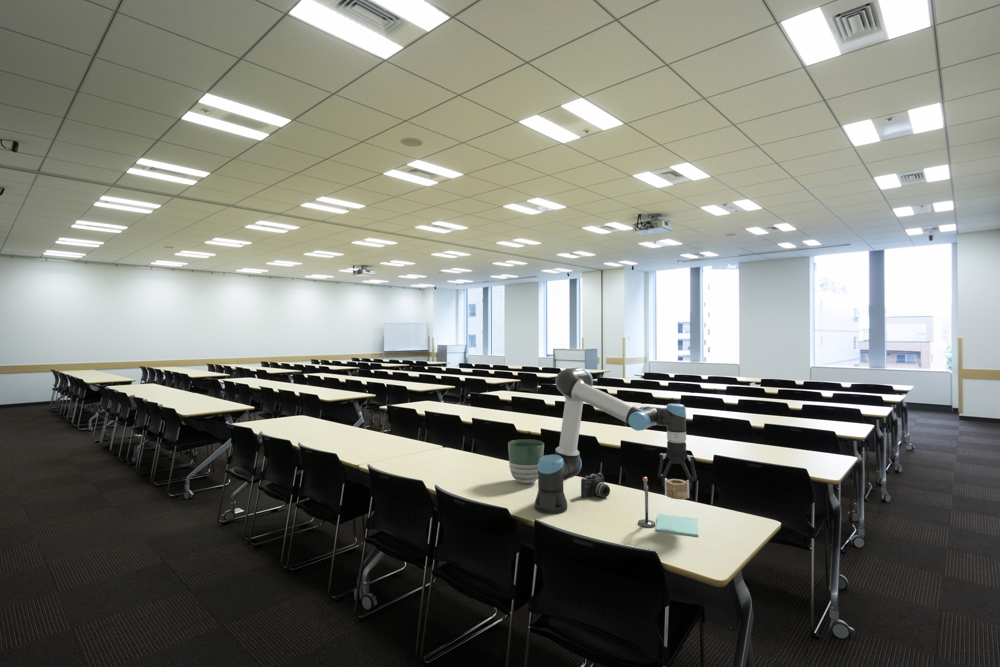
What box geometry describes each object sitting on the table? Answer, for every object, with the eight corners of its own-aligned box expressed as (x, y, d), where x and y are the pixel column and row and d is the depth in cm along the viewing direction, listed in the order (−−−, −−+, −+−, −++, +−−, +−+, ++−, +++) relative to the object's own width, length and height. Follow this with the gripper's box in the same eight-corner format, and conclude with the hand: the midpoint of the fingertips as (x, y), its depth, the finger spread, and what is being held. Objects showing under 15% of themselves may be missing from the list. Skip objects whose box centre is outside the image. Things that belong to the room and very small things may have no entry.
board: (655, 531, 199) (655, 529, 199) (658, 515, 216) (658, 513, 216) (698, 536, 194) (698, 534, 194) (697, 520, 210) (697, 518, 210)
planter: (506, 478, 275) (506, 439, 275) (540, 476, 277) (540, 438, 277) (510, 488, 256) (510, 447, 256) (547, 487, 258) (547, 446, 258)
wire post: (636, 529, 201) (636, 476, 201) (638, 520, 211) (638, 470, 211) (654, 531, 199) (654, 478, 199) (655, 522, 208) (655, 471, 209)
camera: (595, 502, 235) (595, 481, 235) (578, 496, 244) (578, 476, 244) (614, 496, 243) (614, 476, 243) (598, 490, 252) (598, 471, 252)
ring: (666, 498, 203) (666, 483, 203) (667, 492, 210) (667, 478, 210) (687, 500, 200) (687, 485, 200) (687, 494, 207) (687, 480, 207)
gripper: (649, 441, 205) (650, 495, 205) (703, 444, 198) (704, 501, 198) (651, 437, 212) (651, 490, 212) (703, 441, 205) (703, 495, 205)
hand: (677, 495), depth 205 cm, fingers closed on ring, 8 cm apart
